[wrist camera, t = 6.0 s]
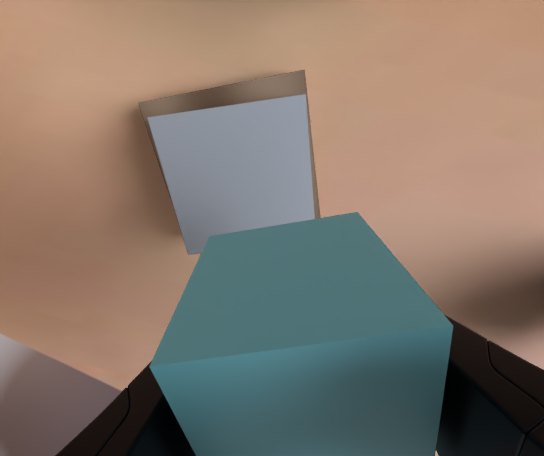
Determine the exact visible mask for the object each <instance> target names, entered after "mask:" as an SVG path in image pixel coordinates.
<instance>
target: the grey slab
mask: <svg viewBox="0 0 544 456" xmlns="http://www.w3.org/2000/svg"><path fill="white" fill-rule="evenodd" d="M147 118H148V122H149V125H150V128H151V132H152V135H153V139H154V142H155V145H156V149H157V152H158V155H159V159H160V162H161V165H162V169H163V172H164V175H165V179H166V182H167V185H168V189H169V192H170V196H171V199H172V202H173V206H174V209H175V212H176V216H177V219H178V222H179V226H180V229H181V232H182V236H183V239H184V242H185V246H186V249H187V253H188V255H190V254H199V253H202V251H203V249H204V247H205V245H206V242H207V240H208V238H209V236H213V235H220V234H226V233H232V232H238V231H244V230H250V229H256V228H263V227H269V226H275V225H281V224H287V223H293V222H299V221H306V220H312V219H315V215H314V201H313V188H312V174H311V160H310V146H309V133H308V119H307V105H306V94H303V95H297V96H290V97H283V98H276V99H269V100H263V101H256V102H249V103H242V104H235V105H229V106H222V107H215V108H208V109H202V110H195V111H188V112H181V113H174V114H168V115H161V116H154V117H147Z"/></svg>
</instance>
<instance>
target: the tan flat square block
mask: <svg viewBox="0 0 544 456" xmlns="http://www.w3.org/2000/svg"><path fill="white" fill-rule="evenodd" d="M303 94H306V105H307V119H308V133H309V146H310V160H311V174H312V188H313V201H314V215H315V219H318V218H320V209H319V200H318V191H317V181H316V172H315V163H314V153H313V144H312V134H311V125H310V116H309V106H308V97H307V88H306V78H305V70H300V71H295V72H290V73H285V74H280V75H275V76H270V77H265V78H260V79H255V80H250V81H245V82H240V83H235V84H230V85H225V86H220V87H215V88H210V89H205V90H200V91H195V92H190V93H185V94H180V95H175V96H170V97H165V98H160V99H155V100H150V101H145V102H140V103H138V104H139V107H140V110H141V113H142V116H143V119H144V122H145V124H146V127H147V130H148V133H149V136H150V139H151V142H152V145H153V148H154V151H155V154H156V157H157V160H158V163H159V166H160V168H161V171H162V174H163V177H164V180H165V183H166V186H167V189H168V185H167V182H166V179H165V175H164V172H163V169H162V165H161V162H160V159H159V155H158V152H157V149H156V145H155V142H154V139H153V135H152V132H151V128H150V125H149V122H148V118H147V117H154V116H161V115H168V114H174V113H181V112H188V111H195V110H202V109H208V108H215V107H222V106H229V105H235V104H242V103H249V102H256V101H263V100H269V99H276V98H283V97H290V96H297V95H303ZM168 192H169V189H168ZM169 195H170V192H169ZM170 198H171V196H170ZM171 201H172V199H171ZM172 204H173V202H172ZM173 207H174V206H173ZM174 210H175V209H174Z"/></svg>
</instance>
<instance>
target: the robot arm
mask: <svg viewBox="0 0 544 456" xmlns="http://www.w3.org/2000/svg"><path fill="white" fill-rule="evenodd" d="M445 316H446V315H445ZM446 318H447V319H448V320H449V321H450V322H451V324H452V325H453V332H452V339H451V346H450V353H449V360H448V367H447V374H446V381H445V388H444V395H443V402H442V409H441V416H440V423H439V430H438V437H437V444H436V451H437V453H438V455H439V456H544V370H543V369H541V368H539V367H537V366H535V365H533V364H531V363H529V362H528V361H526V360H524V359H522V358H520V357H518V356H517V355H515V354H513V353H511V352H509V351H507V350H506V349H504V348H502V347H500V346H499V345H497V344H495V343H493V342H492V341H488V342H487V339H486V338H484V337H483V336H481V335H479V334H477V333H476V332H474V331H472V330H470V329H469V328H467V327H465V326H463V325H462V324H460V323H458V322H456V321H455V320H453V319H451V318H449V317H448V316H446ZM151 362H152V361H151ZM151 362H150V363H149V364H148V365H147V366H146V367H145V368H144V369H143V371H142V372H141V373H140V374H139V375H138V376H137V377H136V378H135V379H134V380H133V381H132V382H131V383H130V384H129V385H128V388H125V389H124V390H123V391H122V392H121V393H120V395H118V396H117V397H116V398H115V399H114V400H113V402H111V403H110V404H109V406H107V407H106V408H105V409H104V410H103V411H102V412H101V413H100V414H99V415H98V417H96V418H95V419H94V420H93V421H92V422H91V423H90V424H89V425H88V426H87V427H86V428H85V429H84V430H83V431H82V432H80V433H79V434H78V435H77V436H76V437H75V438H74V439H73V440H72V441H71V442H70V443H69V444H68V445H66V446H65V447H64V448H63V449H62V450H61V451H60V452H59V453H58V454H57V455H56V456H196V455H195V453H194V451H193V449H192V447H191V445H190V443H189V442H188V440H187V438H186V436H185V434H184V432H183V430H182V428H181V426H180V424H179V422H178V421H177V419H176V417H175V415H174V413H173V411H172V409H171V407H170V405H169V403H168V401H167V399H166V398H165V396H164V394H163V392H162V390H161V388H160V386H159V384H158V382H157V380H156V378H155V377H154V375H153V373H152V371H151V369H150V367H149V366H150V364H151Z"/></svg>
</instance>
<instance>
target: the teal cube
mask: <svg viewBox="0 0 544 456" xmlns="http://www.w3.org/2000/svg"><path fill="white" fill-rule="evenodd" d="M452 332H453V325H452V324H451V322H450V321H449V320H448V319H447V318H446V316H445V315H444V314H443V313H442V312H441V311H440V309H439V308H438V307H437V306H436V305H435V303H434V302H433V301H432V300H431V299H430V298H429V296H428V295H427V294H426V293H425V292H424V290H423V289H422V288H421V287H420V286H419V284H418V283H417V282H416V281H415V280H414V279H413V277H412V276H411V275H410V274H409V273H408V271H407V270H406V269H405V268H404V267H403V266H402V264H401V263H400V262H399V261H398V260H397V258H396V257H395V256H394V255H393V254H392V252H391V251H390V250H389V249H388V248H387V247H386V245H385V244H384V243H383V242H382V241H381V239H380V238H379V237H378V236H377V235H376V234H375V232H374V231H373V230H372V229H371V228H370V226H369V225H368V224H367V223H366V222H365V220H364V219H363V218H362V217H361V216H360V215H359V213H358V212H355V213H349V214H343V215H336V216H330V217H324V218H318V219H312V220H306V221H299V222H293V223H287V224H281V225H275V226H269V227H263V228H256V229H250V230H244V231H238V232H232V233H226V234H220V235H213V236H209V238H208V240H207V242H206V245H205V247H204V249H203V251H202V253H201V255H200V258H199V260H198V262H197V264H196V266H195V268H194V271H193V273H192V275H191V277H190V279H189V282H188V284H187V286H186V288H185V290H184V292H183V295H182V297H181V299H180V301H179V303H178V305H177V308H176V310H175V312H174V314H173V316H172V318H171V321H170V323H169V325H168V327H167V329H166V332H165V334H164V336H163V338H162V340H161V342H160V345H159V347H158V349H157V351H156V353H155V355H154V358H153V360H152V362H151V364H150V366H149V367H150V369H151V371H152V373H153V375H154V377H155V378H156V380H157V382H158V384H159V386H160V388H161V390H162V392H163V394H164V396H165V398H166V399H167V401H168V403H169V405H170V407H171V409H172V411H173V413H174V415H175V417H176V419H177V421H178V422H179V424H180V426H181V428H182V430H183V432H184V434H185V436H186V438H187V440H188V442H189V443H190V445H191V447H192V449H193V451H194V453H195V455H196V456H435V451H436V444H437V437H438V430H439V423H440V416H441V409H442V402H443V395H444V388H445V381H446V374H447V367H448V360H449V353H450V346H451V339H452Z"/></svg>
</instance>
